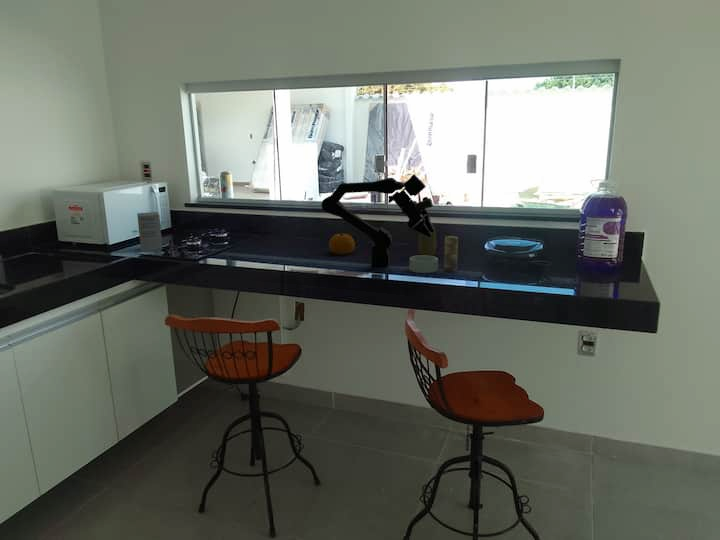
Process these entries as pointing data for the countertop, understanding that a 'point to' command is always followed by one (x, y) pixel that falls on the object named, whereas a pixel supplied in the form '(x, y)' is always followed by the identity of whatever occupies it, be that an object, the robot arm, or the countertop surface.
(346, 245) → the fruit
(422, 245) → the squeeze bottle
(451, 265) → the birch post
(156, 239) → the supplement box
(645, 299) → the countertop surface
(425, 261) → the celadon cup
